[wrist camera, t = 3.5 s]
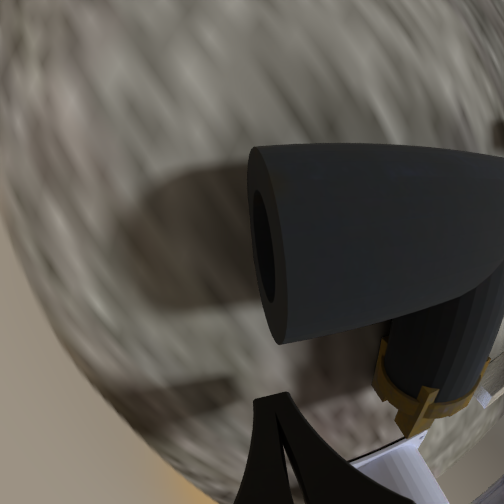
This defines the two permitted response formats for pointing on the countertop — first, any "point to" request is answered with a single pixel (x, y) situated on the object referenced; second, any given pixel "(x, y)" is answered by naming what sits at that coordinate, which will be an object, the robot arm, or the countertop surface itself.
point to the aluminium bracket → (491, 382)
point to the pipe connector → (385, 260)
